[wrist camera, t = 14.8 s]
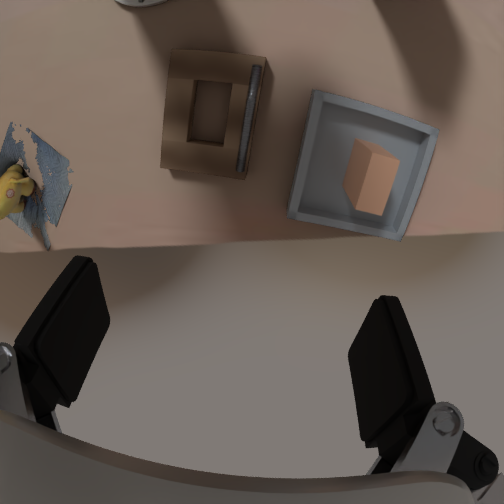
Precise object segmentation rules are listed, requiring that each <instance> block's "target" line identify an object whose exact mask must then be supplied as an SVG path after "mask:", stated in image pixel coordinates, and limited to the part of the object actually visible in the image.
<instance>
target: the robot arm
mask: <svg viewBox="0 0 504 504" xmlns="http://www.w3.org/2000/svg"><path fill="white" fill-rule="evenodd" d="M115 1H117V2H119V3H121V4H124V5H127V6H132V7H148V6H153V5H157V4H160V3H163V2H166V1H168V0H145V1H144V0H115ZM143 1H144V2H143ZM109 325H110V316H109V312H108V309H107V305H106V301H105V297H104V294H103V289H102V285H101V281H100V277H99V272H98V268H97V265H96V263H94V262H93V260H92V259H91V258H90V257H84V256H75V257H73V259H72V260H71V261H70V263H69V264H68V265H67V266H66V268H65V269H64V270H63V272H62V273H61V274H60V275H59V277H58V278H57V279H56V281H55V282H54V284H53V285H52V286H51V288H50V289H49V290H48V292H47V293H46V295H45V296H44V297H43V299H42V300H41V302H40V303H39V304H38V306H37V307H36V309H35V310H34V312H33V313H32V315H31V316H30V318H29V319H28V321H27V322H26V324H25V325H24V327H23V328H22V330H21V332H20V333H19V335H18V336H17V338H16V339H15V344H14V346H13V347H12V346H11V345H10V344H8V343H4V342H1V343H0V504H504V475H503V474H502V473H500V474H498V470H499V464H498V460H497V457H496V455H495V454H494V453H493V452H492V451H491V450H490V449H489V448H487V447H486V446H484V445H483V444H482V443H480V442H479V441H477V440H476V439H475V438H473V437H472V436H470V435H469V434H468V433H466V432H465V431H464V430H463V429H464V419H463V417H462V414H461V412H460V411H459V409H458V408H457V407H455V406H454V405H453V404H450V403H448V402H439V403H436V401H435V398H434V394H433V391H432V388H431V385H430V382H429V379H428V375H427V373H426V369H425V367H424V364H423V361H422V358H421V355H420V352H419V349H418V347H417V344H416V341H415V339H414V336H413V333H412V331H411V328H410V325H409V323H408V320H407V318H406V315H405V313H404V310H403V308H402V306H401V303H400V301H399V299H398V297H396V296H386V295H382V296H380V297H379V298H378V299H375V300H374V302H373V303H372V306H371V308H370V310H369V312H368V314H367V316H366V318H365V320H364V322H363V324H362V326H361V328H360V330H359V332H358V334H357V335H356V337H355V339H354V341H353V343H352V345H351V347H350V349H349V352H348V360H349V366H350V372H351V378H352V384H353V389H354V396H355V402H356V409H357V416H358V423H359V430H360V437H361V440H362V441H365V446H366V448H374V447H378V451H379V456H378V458H377V459H376V461H375V462H374V464H373V465H372V467H371V468H370V470H369V471H368V472H367V474H366V475H363V476H350V477H335V478H306V479H291V478H262V477H247V476H235V475H226V474H218V473H211V472H204V471H197V470H190V469H185V468H179V467H175V466H170V465H164V464H160V463H155V462H152V461H147V460H143V459H139V458H135V457H132V456H128V455H125V454H121V453H118V452H114V451H111V450H108V449H104V448H102V447H98V446H95V445H92V444H90V443H87V442H84V441H81V440H79V439H76V438H73V437H70V436H68V435H65V434H63V433H62V431H61V429H60V426H59V423H58V420H57V417H56V413H55V410H54V409H55V407H56V404H60V405H62V406H65V407H67V408H69V407H70V405H71V402H74V401H76V399H77V397H78V395H79V392H80V390H81V387H82V385H83V383H84V380H85V378H86V376H87V373H88V371H89V369H90V367H91V364H92V362H93V360H94V358H95V355H96V353H97V351H98V349H99V347H100V345H101V342H102V340H103V338H104V336H105V334H106V332H107V330H108V328H109Z"/></svg>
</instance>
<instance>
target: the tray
mask: <svg viewBox="0 0 504 504" xmlns="http://www.w3.org/2000/svg"><path fill="white" fill-rule="evenodd" d="M438 133H439V129H437V128H434V127H432V126H429V125H427V124H424V123H422V122H419V121H417V120H414V119H411V118H409V117H406V116H403V115H400V114H398V113H395V112H392V111H389V110H386V109H383V108H380V107H377V106H373V105H370V104H367V103H364V102H360V101H357V100H353V99H350V98H346V97H343V96H339V95H335V94H331V93H327V92H323V91H319V90H314V89H312V94H311V99H310V104H309V109H308V113H307V118H306V123H305V128H304V132H303V137H302V142H301V146H300V151H299V156H298V160H297V165H296V169H295V174H294V179H293V183H292V187H291V192H290V196H289V201H288V205H287V218H289V219H294V220H299V221H305V222H310V223H315V224H320V225H325V226H330V227H335V228H340V229H345V230H350V231H354V232H359V233H364V234H369V235H373V236H378V237H383V238H387V239H392V240H397V241H401V240H402V237H403V235H404V233H405V230H406V228H407V225H408V223H409V220H410V217H411V215H412V212H413V210H414V207H415V204H416V202H417V199H418V196H419V193H420V190H421V188H422V185H423V182H424V179H425V176H426V173H427V170H428V167H429V164H430V160H431V157H432V154H433V151H434V147H435V144H436V140H437V137H438ZM355 138H358V139H361V140H365V141H368V142H371V143H375V144H378V145H380V146H381V147H383V148H384V149H385V150H387V151H388V152H389V153H391V154H392V155H393V156H395V157H396V158H397V159H399V160H400V163H399V167H398V170H397V173H396V176H395V179H394V182H393V185H392V188H391V191H390V194H389V197H388V200H387V203H386V205H385V208H384V211H383V214H382V216H380V215H376V214H372V213H368V212H364V211H360V210H355V208H354V206H353V205H352V203H351V201H350V199H349V197H348V195H347V193H346V192H345V190H344V188H343V186H342V184H343V180H344V177H345V173H346V170H347V166H348V163H349V159H350V155H351V152H352V148H353V144H354V140H355Z"/></svg>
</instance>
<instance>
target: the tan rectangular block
mask: <svg viewBox="0 0 504 504" xmlns="http://www.w3.org/2000/svg"><path fill="white" fill-rule="evenodd" d="M399 163H400V160H399V159H397V158H396V157H395V156H393V155H392V154H391V153H389V152H388V151H387V150H385V149H384V148H383V147H381V146H380V145H378V144H375V143H371V142H368V141H365V140H361V139H358V138H355V140H354V144H353V148H352V152H351V155H350V159H349V163H348V166H347V170H346V173H345V177H344V180H343V184H342V186H343V188H344V190H345V192H346V193H347V195H348V197H349V199H350V201H351V203H352V205H353V206H354V208H355V210H360V211H364V212H368V213H372V214H376V215H380V216H382V214H383V211H384V208H385V205H386V203H387V200H388V197H389V194H390V191H391V188H392V185H393V182H394V179H395V176H396V173H397V170H398V167H399Z"/></svg>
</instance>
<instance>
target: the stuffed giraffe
mask: <svg viewBox="0 0 504 504" xmlns="http://www.w3.org/2000/svg"><path fill="white" fill-rule="evenodd" d="M14 123H15V122H14ZM12 124H13V122H12V123H10V125H9V128H8V130H7V133H6V137H5V140H4V143H3V146H2V149H1V153H0V220H1V219H3V218H5V217H8V218H9V219H10V220H12V221H13V222H14V223H15V224H16V225H17V226H18V227H19V228H21V229H22V227H23V230H24V232H26V233H27V234H28V235H29V236H30V237H31V238H32V237H33V235H32V234H33V233H32V234H31V228H32V226H31V225H32V224H33V222H34V224H35V222H36V224H37V225H36V224H35V228H36V226H37V228H38V229H39V227H40V229H41V231H40V232H41V234H42V236H43V239H44V245H45V247H46V248H47V250H49V247H50V242H49V240H48V235H47V233H46V229H45V222H47V221H48V220H49V219H48V216H49V217H50V220H49V221H50V223H52V224H55V226H57V222H58V220H59V217H60V215H61V212H62V209H63V206H64V203H65V201H66V198H67V196H68V194H69V191H70V189H71V187H72V184H71V185H70V186H69V182H68V172H69V173H71V172H73V171H72V169H70V171H67V167H68V166H69V160H68V159H66V158H65V157H63V156H62V155H60V154H58V152H56V151H55V150H54V149H53V148H52V147H51V146H50V145H48V144H47V143H45V142H44V141H42V140H41V139H40V138H39V137H38V136H37V135H35V134H34V133H33V132H32V135H31V138H32V139H33V142H34V143H35V142H36V143H37V146H38V147H37V149H36V150H37V153H38V154H36V155H37V156H36V158H35V159H38V160H37V162H39V163H38V165H39V169H40V171H41V173H43V174H42V177H43V183H44V187H45V188H44V190H40V192H42V194H41V195H42V197H41V198H42V200H43V201H42V202H41V203H40V201H41V198H40V201H39V197H38V195H36V192H35V196H36V200H37V205H36V203H35V200H34V199H33V200H34V202H33V200H32V198H31V195H32V194H33V192H34V191H35V190H36V188H37V187H36V184H35V182H34V180H33V179H31V178H29V177H28V176H24V169H26V170H27V169H29V167H28V166H27V164H26V159H25V157H24V154H25V151H24V152H23V149H24V147H23V145H24V144H22V143H23V141H21V140H19V141H21V142H19V143H17V144H15V142H16V140H14V139H13V138H12V137H13V136H12V132H13V131H14V128H12ZM15 126H16V124H15ZM20 127H21V124H20ZM26 131H27V132H28V133H29V132H30V131H31V130H29V129H28V128H26ZM19 157H20V159H21V158H22V160H23V162H24V163H23V167H22V166H21V165H19V164H16V163H17V162H18V161H19V159H18V158H19ZM46 166H48V167H46ZM23 168H24V169H23ZM49 169H50V171H49ZM53 171H54V172H55V173H54V172H53ZM28 172H30V169H29V171H28ZM51 172H52V174H51V175H52V176H51V175H49V174H48V173H51ZM47 174H48V175H49V176H48V175H47ZM46 179H47V180H46ZM40 180H41V179H40ZM50 180H51V181H50ZM49 182H50V183H49ZM48 183H49V184H48ZM51 185H52V186H51ZM46 186H47V187H46ZM68 187H69V188H68ZM59 205H60V207H59ZM45 207H46V210H43V209H44V208H45ZM46 211H47V213H45V212H46ZM47 214H48V216H47ZM32 219H33V220H32ZM44 221H45V222H44ZM33 226H34V225H33Z"/></svg>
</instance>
